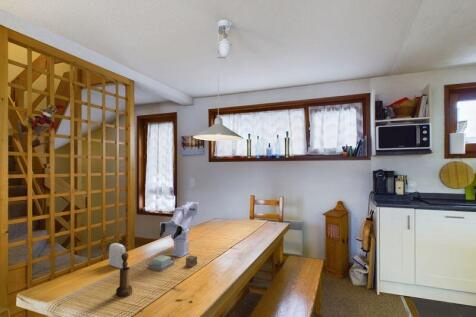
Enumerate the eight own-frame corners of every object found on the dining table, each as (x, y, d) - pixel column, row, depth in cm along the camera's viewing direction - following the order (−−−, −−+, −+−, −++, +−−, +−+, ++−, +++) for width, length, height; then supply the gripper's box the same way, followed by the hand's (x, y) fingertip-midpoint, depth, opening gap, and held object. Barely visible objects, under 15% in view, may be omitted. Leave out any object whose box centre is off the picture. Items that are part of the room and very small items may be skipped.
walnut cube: (190, 262, 151) (190, 255, 151) (197, 264, 150) (197, 256, 150) (185, 265, 147) (186, 257, 147) (192, 267, 145) (192, 259, 146)
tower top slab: (161, 259, 151) (161, 254, 151) (170, 261, 148) (170, 257, 148) (152, 263, 145) (152, 259, 145) (162, 265, 142) (162, 261, 142)
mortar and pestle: (134, 290, 119) (135, 250, 119) (129, 297, 112) (129, 255, 112) (119, 290, 119) (120, 250, 119) (113, 297, 112) (114, 255, 112)
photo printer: (126, 266, 145) (126, 244, 145) (119, 269, 141) (119, 246, 141) (114, 262, 150) (115, 241, 150) (107, 265, 146) (108, 242, 146)
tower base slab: (160, 262, 153) (160, 258, 153) (174, 265, 149) (174, 261, 149) (148, 268, 144) (148, 264, 144) (162, 272, 139) (162, 267, 140)
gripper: (163, 213, 155) (154, 228, 142) (187, 218, 154) (180, 233, 142) (163, 222, 158) (154, 238, 145) (186, 227, 157) (179, 243, 145)
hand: (167, 236), depth 144 cm, fingers open, 7 cm apart
